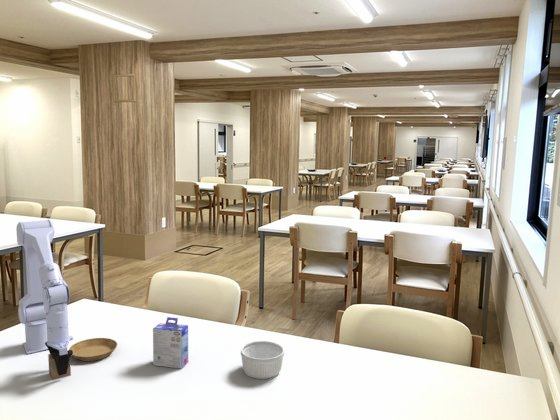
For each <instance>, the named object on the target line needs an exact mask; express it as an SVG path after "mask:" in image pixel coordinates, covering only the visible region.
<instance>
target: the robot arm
mask: <svg viewBox="0 0 560 420" xmlns="http://www.w3.org/2000/svg"><path fill="white" fill-rule="evenodd" d="M15 229H16V242H17V245H18V246H21V247H23V249H24V254H25V255H24V256H25V269H26V270H25V271H26V284H27V285H26V286H27V293H26V294H25V295H24V296H23V297H22V298H21V299H20V300H19V301H18V309H17V310H18V319H19V322H20V323H21V324H22V325H24V332H25V335H24V336H25V342H23V343H22V347H23V348H24V350H25V353H26V354H27V355H28V354H33V353H38V352H42V351H48V352H49V354H51V356H52V358H53V359H54V361H55V364H56V368H57V372H58V375H59V376H60V375H64V374H66V373H67V369H68V364H69V360H70V361H71V358H72V357H73V356H72V354H73V351H72V350H69V349H68V346H69V343H70V341H73V340H74V337H73V335H70V333H69V318H68V317H69V316H68V313H69V312H68V303H70V300H71V293H70V289H69V285H68V284H67V283H66V280H63V279H64V278H63V276H62V272H61V269H60V266H59V264H58V263H56V262H54V259H53V254H52V247H51V243H52V241H53V240H54V239H53V238H54V236H55V225H54V222H53V221H52V220H51V219H46V220H35V221H34V220H33V221H23V222H22V221H19V222H18V223H17V224H16V228H15Z"/></svg>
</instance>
